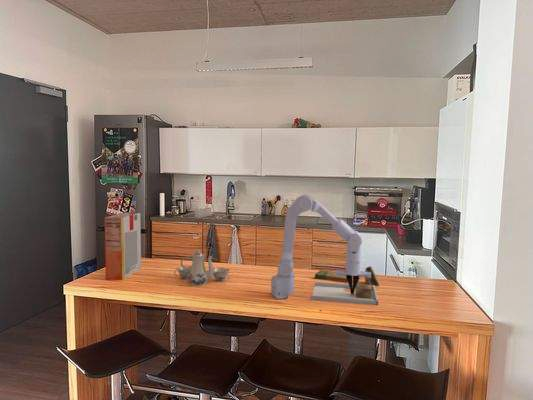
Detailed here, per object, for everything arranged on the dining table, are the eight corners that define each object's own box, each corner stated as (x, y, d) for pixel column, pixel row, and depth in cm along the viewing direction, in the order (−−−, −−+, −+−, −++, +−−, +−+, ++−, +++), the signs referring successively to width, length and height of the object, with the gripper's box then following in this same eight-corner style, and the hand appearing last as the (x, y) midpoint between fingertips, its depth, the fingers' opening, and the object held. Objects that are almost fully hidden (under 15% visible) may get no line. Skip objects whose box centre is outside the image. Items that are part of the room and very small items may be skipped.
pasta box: (126, 267, 205) (125, 212, 203) (141, 267, 205) (140, 212, 202) (105, 279, 182) (104, 217, 180) (122, 280, 182) (121, 217, 180)
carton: (347, 286, 176) (347, 277, 176) (314, 282, 183) (314, 273, 183) (351, 282, 183) (351, 273, 183) (319, 277, 191) (320, 269, 190)
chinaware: (232, 281, 188) (232, 247, 188) (226, 287, 171) (226, 250, 172) (176, 279, 190) (177, 246, 190) (165, 285, 173) (166, 249, 174)
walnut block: (356, 297, 155) (356, 287, 155) (355, 293, 161) (356, 283, 161) (371, 298, 154) (371, 289, 154) (370, 294, 160) (370, 284, 160)
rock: (360, 276, 184) (356, 278, 175) (371, 263, 183) (368, 265, 173) (377, 292, 180) (374, 295, 171) (389, 279, 179) (387, 282, 170)
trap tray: (310, 303, 152) (311, 294, 152) (314, 288, 172) (315, 281, 171) (378, 308, 147) (378, 299, 147) (374, 293, 166) (374, 285, 166)
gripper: (335, 262, 155) (334, 294, 156) (371, 264, 152) (370, 297, 153) (335, 258, 162) (334, 289, 163) (370, 260, 159) (369, 292, 160)
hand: (352, 293), depth 158 cm, fingers closed
